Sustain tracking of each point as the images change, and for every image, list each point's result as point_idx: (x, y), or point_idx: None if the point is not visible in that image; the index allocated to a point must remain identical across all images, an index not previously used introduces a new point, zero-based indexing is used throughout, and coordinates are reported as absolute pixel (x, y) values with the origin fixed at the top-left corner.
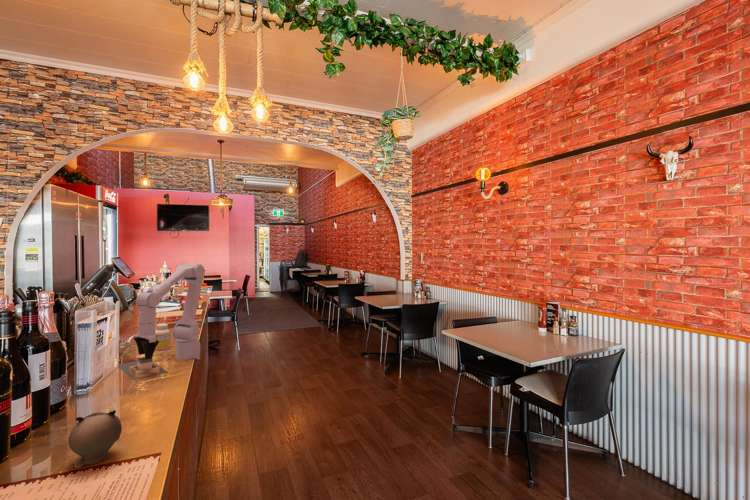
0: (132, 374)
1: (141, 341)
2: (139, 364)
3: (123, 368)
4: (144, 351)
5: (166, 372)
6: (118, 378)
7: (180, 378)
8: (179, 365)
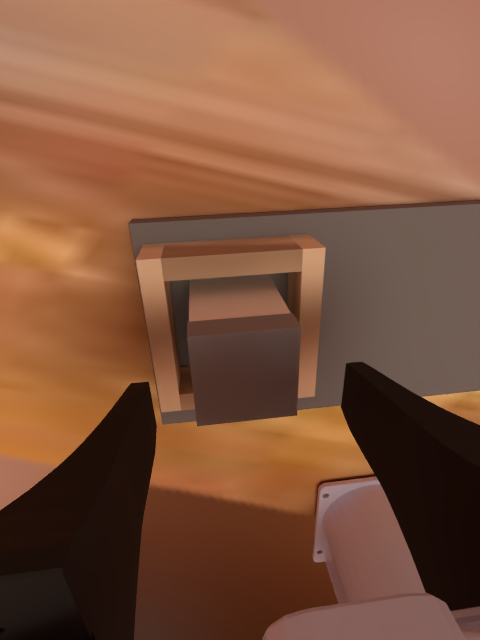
0: (237, 240)
1: (434, 501)
2: (224, 313)
3: (447, 221)
4: (119, 437)
5: (164, 417)
6: (295, 150)
7: (56, 449)
8: (288, 479)
